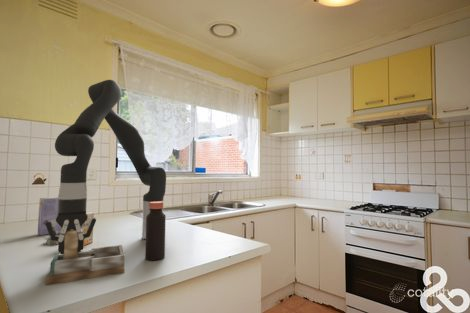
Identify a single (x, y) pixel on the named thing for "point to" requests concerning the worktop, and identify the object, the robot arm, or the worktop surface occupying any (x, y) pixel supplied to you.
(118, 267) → the brown shallow boxy piece
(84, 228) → the supplement box
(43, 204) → the cake pan box
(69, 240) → the keyhole peg
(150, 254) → the bottle
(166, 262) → the worktop surface
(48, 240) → the egg carton
